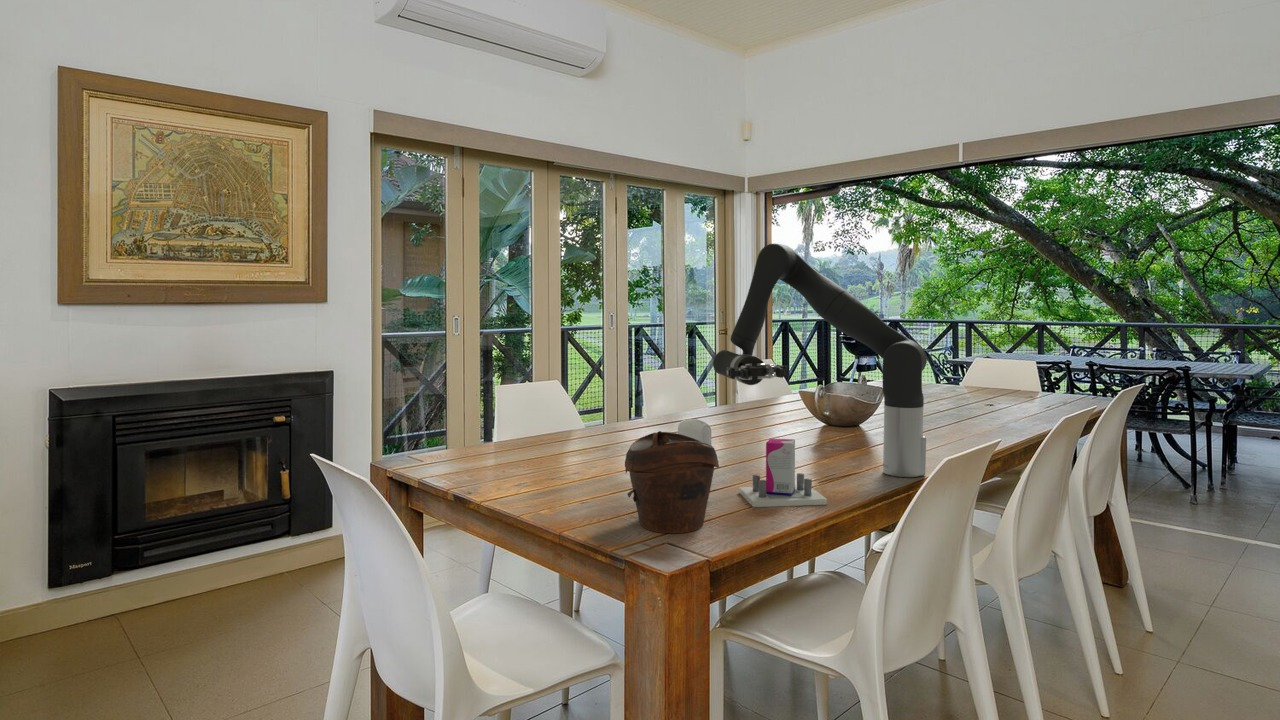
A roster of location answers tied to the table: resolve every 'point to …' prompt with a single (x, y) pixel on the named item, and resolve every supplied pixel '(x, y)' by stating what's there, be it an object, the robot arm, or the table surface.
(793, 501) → the grey peg board
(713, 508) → the table surface
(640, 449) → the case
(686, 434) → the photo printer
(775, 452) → the supplement box
